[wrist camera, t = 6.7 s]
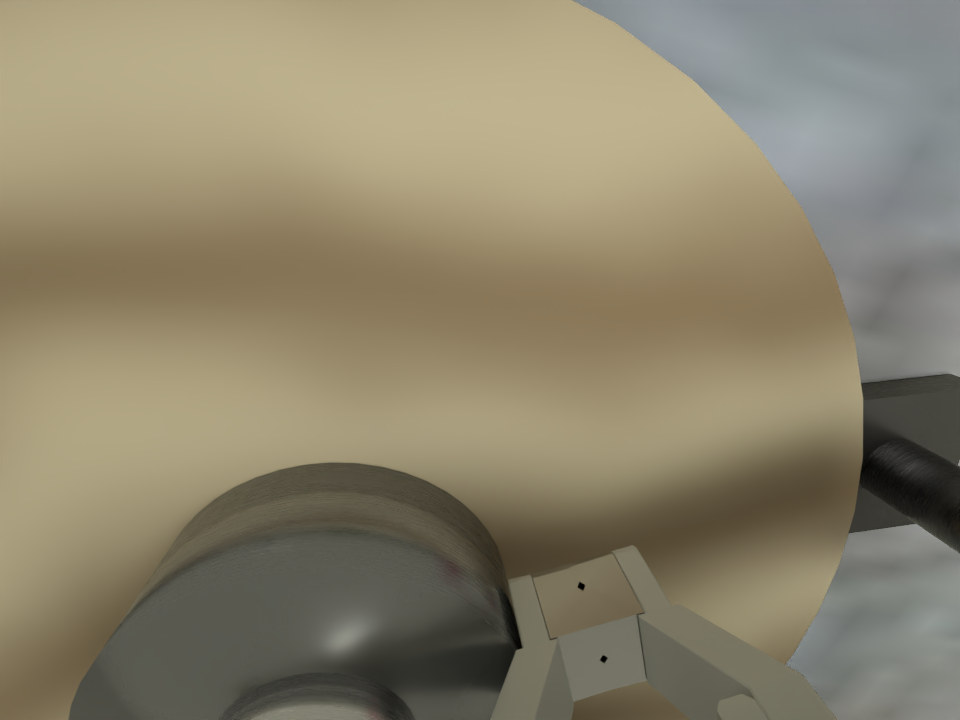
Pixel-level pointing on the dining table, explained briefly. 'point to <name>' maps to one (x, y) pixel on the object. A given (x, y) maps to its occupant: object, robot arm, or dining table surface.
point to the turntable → (402, 306)
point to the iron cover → (315, 608)
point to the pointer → (911, 457)
